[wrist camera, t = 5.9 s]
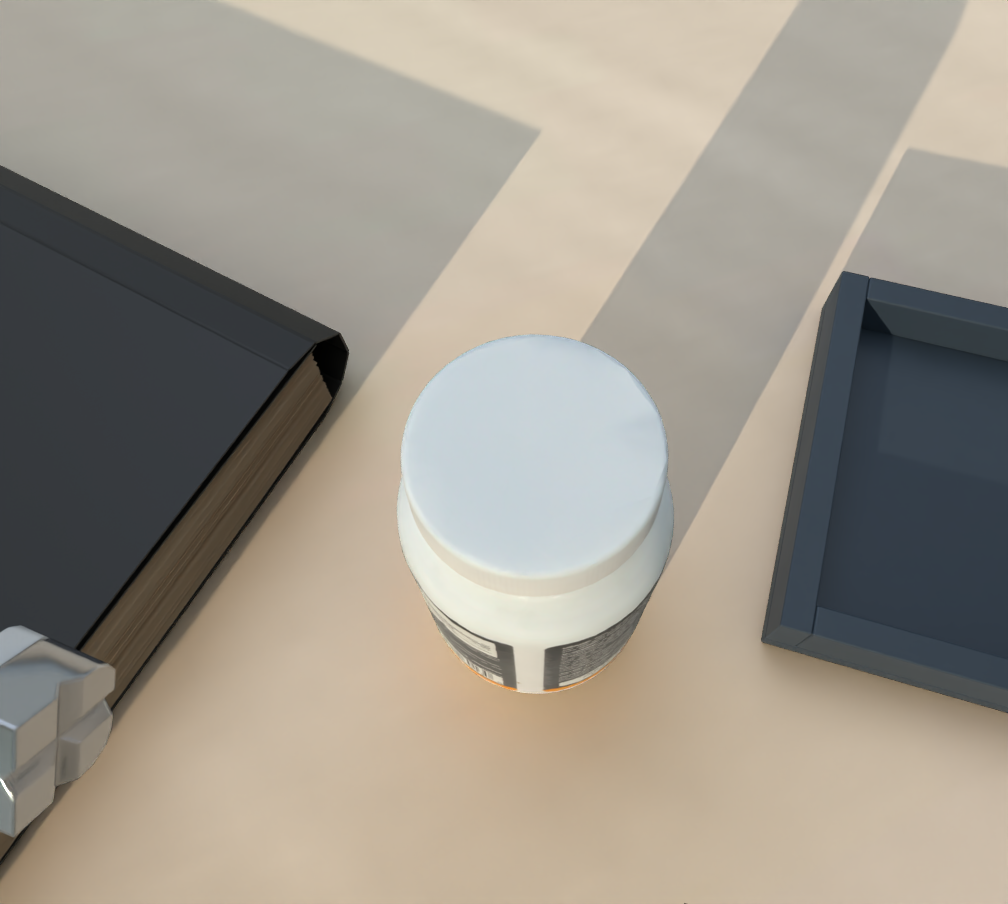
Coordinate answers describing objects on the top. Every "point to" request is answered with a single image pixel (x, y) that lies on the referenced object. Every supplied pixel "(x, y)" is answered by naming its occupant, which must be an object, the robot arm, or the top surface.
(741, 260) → the top surface
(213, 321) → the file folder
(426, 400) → the pill bottle
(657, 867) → the top surface
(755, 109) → the top surface
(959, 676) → the tray
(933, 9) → the top surface
